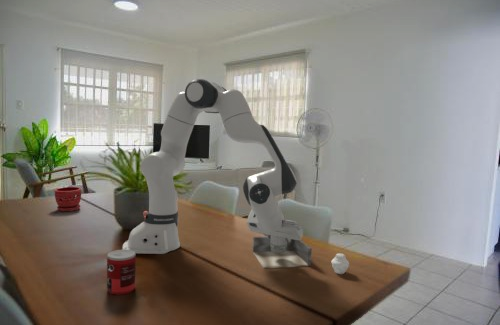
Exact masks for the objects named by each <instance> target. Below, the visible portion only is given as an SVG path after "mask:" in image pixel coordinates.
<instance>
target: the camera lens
mask: <svg viewBox="0 0 500 325" xmlns="http://www.w3.org/2000/svg"><path fill="white" fill-rule="evenodd" d="M270 248H271V251H272V252H276V253H284V252H285V251H286V248H287V242H286V238H283V237H278V236H272V235H271V241H270Z"/></svg>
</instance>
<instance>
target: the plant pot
mask: <svg viewBox="0 0 500 325" xmlns="http://www.w3.org/2000/svg"><path fill="white" fill-rule="evenodd" d="M54 199H55V202H56V205H57V207H56V209H57V210H58V211H61V212H72V211H77V210H79V209H80V208H81V204H80V202H81V199H82V188H81V187H79V186H78V187H77V186H65V187H64V186H63V187H59V188H55V189H54Z"/></svg>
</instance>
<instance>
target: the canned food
mask: <svg viewBox="0 0 500 325" xmlns="http://www.w3.org/2000/svg"><path fill="white" fill-rule="evenodd" d="M136 254H137V253H135V252H134V251H132V250H126V249H122V248H121V249H116V250H112V251H110V252H108V253H107V256H106V289H107V292H108V293H109V294H110V295H114V294H116V296H123V295H127V294H131V293H132V292H133V291H134V290H135V287H136V265H137V264H136V263H137V262H136V260H137V259H136V256H137V255H136ZM122 294H123V295H122Z"/></svg>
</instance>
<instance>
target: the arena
mask: <svg viewBox="0 0 500 325" xmlns="http://www.w3.org/2000/svg"><path fill="white" fill-rule="evenodd" d="M270 241H271V239H269V238H267V236H265V235H264V236H253V237H252V254H253V256H254V257H255V258H256V260H257V261H258V263H259V264H260V265H261V267H262V269H264V270H265V269H278V268H297V267H311V266H312V264H311V263H312V250H313V249H312V248H311V247H310V245H309V244H307V243H306V242H304V241H303V240H302V239H301V240H294V239H291V242H287V248H286V251H285V252H284V253H276V252H272V251H271V248H270Z"/></svg>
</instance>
